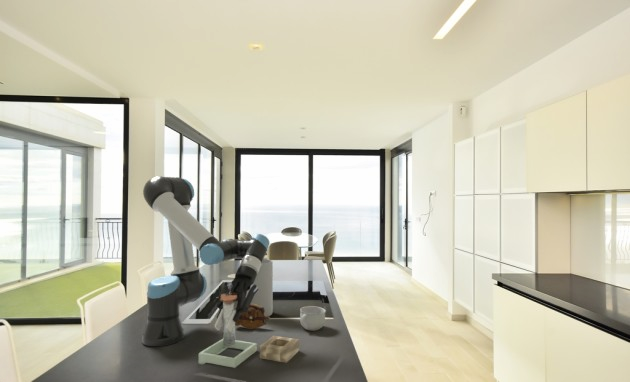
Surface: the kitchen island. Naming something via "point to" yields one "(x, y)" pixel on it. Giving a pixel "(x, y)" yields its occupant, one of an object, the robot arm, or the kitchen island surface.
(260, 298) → the cylinder vase
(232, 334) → the pin
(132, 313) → the kitchen island surface
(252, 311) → the wooden carving
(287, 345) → the block
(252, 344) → the tray
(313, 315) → the teacup
